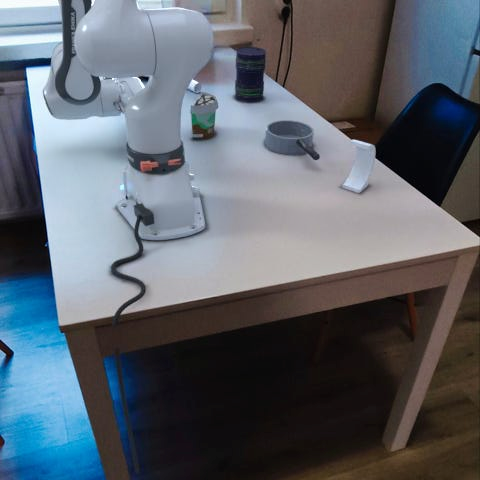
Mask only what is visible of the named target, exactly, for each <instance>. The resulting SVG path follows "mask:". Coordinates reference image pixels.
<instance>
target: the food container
mask: <svg viewBox="0 0 480 480" xmlns="http://www.w3.org/2000/svg"><path fill="white" fill-rule="evenodd" d="M200 95H201V96H200V97H199V98H198V99H197V100H196V101H195V103H194V104H193V105H192V104H190V111H189V112H190V117H191V119H190V120H191V135H192V140H196V141H199V140H200V141H201V140H207V139H211V138H213V136H214V135H215V127H216V126H215V125H216V112H217V110H218V108H219V102H218V99H217V97H216V96H215V95H214V94H212V93H209V92H204V91H201V94H200Z"/></svg>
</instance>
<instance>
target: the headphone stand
mask: <svg viewBox="0 0 480 480" xmlns="http://www.w3.org/2000/svg"><path fill="white" fill-rule="evenodd" d="M349 144H350V145H352V146H355V148H356V151H355V152H356V153H355V159H354V163H353V166H352V169H351V171H350V173H349V175H348V176H347V178H346V180H345V182H344V183H342V185H341V188H342V189H345V190H349V191H350V192H354V193H356V194H360V193H361V192H362V191H364V190H365V189H366V188H367V187H368V186H369V182H368V181H369V179H370V176H371V174H372V171H373V168H374V165H375V160H376V146H375V145H374V144H372V143H369V142H365V141H361V140H358V139H351V140H350V143H349Z"/></svg>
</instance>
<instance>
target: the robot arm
mask: <svg viewBox="0 0 480 480" xmlns="http://www.w3.org/2000/svg"><path fill="white" fill-rule="evenodd" d="M57 1H58V5H59V9H60V17H61V38H62V41H61V42H59V43H58V44H57V45H56V46H55V47H54V48H53V50H52V53H51V61H50V69H49V74H48V78H47V81H46V83H45V85H44V87H43V89H42V96H43V99H44V102H45V106H46V108H47V110H48V112H49V114H50V115H51V116H52V117H53V118H54V119H56V120H63V121H76V120H87V119H89V118H92V117H93V118H94V117H97V118H109V117H121V115H122V114H123V115H124V121H125V129H126V137H127V142H126V144H125V147H126V148H125V153H126V154H125V155H126V157H127V158H126V159H127V162H128V163H127V164H126V166H125V168H124V169H123V170H122V171H121V177H122V184H121V185H120V186H119V190H120V191H122V190H123V198H122V199H121V200H119V201H118V202H117V203H116V204H117V206H116V207H117V209H118V211H119V212H120V213H121V215H122V216H123V217H124V219H125V220H126V222H128V224H129V225H131V228H132V229H133V232H134V234H133V235H134V240H135V241H136V243H137V246H138V251H137V252H136V253H135V254H133V255H131V256H128V257H124V258H120V259H117V260H115V261H114V262H112V263H111V266H110V270H111V272H112V274H113V275H114V276H116V277H118V278H120V279H123V280H126V281H129V282H132V283H135V284H137V285H138V286H139V287H140V292H139V293H138V294H136V295H134V296H133V297H132V298H130V299H128V300H127V301H125V302H123V304H121V306H119V308H118V309H117V310H116V311H115V313H114V316H113V318H112V322H111V325H112V326H113V327H115V326H117V324H118V322H119V318H120V316H121V315H122V313H123V312H124V311H125V309H127V308H128V307H130V306H131V305H133V304H135V303H136V302H138V301H139V300H141V299H142V298H143V297H144V296H145V294H146V292H147V289H146V288H147V287H146V285H145V283H144V282H143V281H142V280H140V279H139V278H136V277H134V276H131V275H127V274H124V273H122V272H119V271H118V270H117V269H116V268H117V266H119V265H121V264H125V263H130V262H132V261H134V260H137V259H138V258H139V257H140V256H141V255H142V253H143V251H144V245H143V242H142V240H148V241H167V240H175V239H180V238H184V237H188V236H192V235H196V234H198V233H200V232H202V231H204V230H205V229H206V222H205V217H204V210H203V205H202V200H201V192H200V187H199V186H194V185H192V181H195V174H194V173H190V163H189V162H188V161H187V160H186V157H185V156H186V155H185V147H184V142H183V140H182V132H181V131H182V106H183V102H184V98H185V96H186V93H187V90H188V86H189V84H190V83H191V81H192V80H194V78H195V77H196V76H197V74H198V73H199V72H200V71H201V70H202V69H203V68H204V67H205V66H206V65H208V63H209V62H210V60H211V58H212V56H213V54H214V49H215V35H214V31H213V28H212V25H211V23H210V21H209V19H208V18H207V17H206V16H205V14H204V13H203V12H200V11H197V10H192V9H186V8H181V7H168V8H150V9H149V8H148V9H147V8H146V9H145V8H144V9H143V8H140V7H139V4H138V0H57ZM149 75H150V77H148V81H147V82H146V84H145V85H144V84H143V83H142V81H141V79H140V78H139V77H145V76H149ZM101 78H102V79H101ZM141 239H142V240H141ZM114 357H115V366H116V373H117V380H118V387H119V392H120V393H119V394H120V399H121V400H120V401H121V405H122V410H123V415H124V421H125V425H126V430H127V436H128V440H129V445H130V450H131V454H132V460H133V466H134V472H135V474H139V473H140V467H139V466H140V465H139V461H138V454H137V450H136V445H135V438H134V435H133V429H132V424H131V419H130V413H129V407H128V402H127V396H126V390H125V384H124V383H125V382H124V378H123V369H122V361H121V360H122V359H121V350H120V347H116V348H114Z"/></svg>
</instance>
